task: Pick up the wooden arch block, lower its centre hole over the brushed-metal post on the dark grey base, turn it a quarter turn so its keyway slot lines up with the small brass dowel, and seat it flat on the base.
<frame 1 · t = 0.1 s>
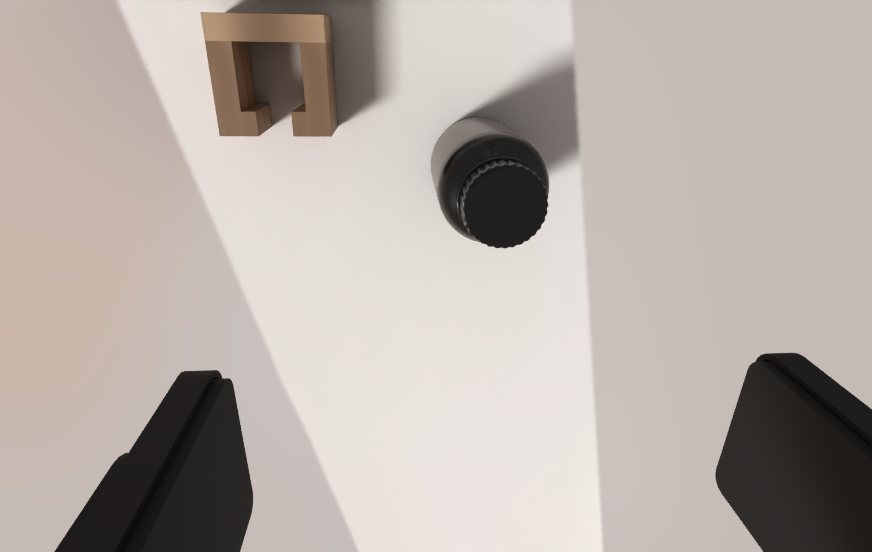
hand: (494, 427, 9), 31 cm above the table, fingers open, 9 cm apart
wooden arch block: (282, 73, 35), on the table
supplement bottle: (474, 160, 39), on the table
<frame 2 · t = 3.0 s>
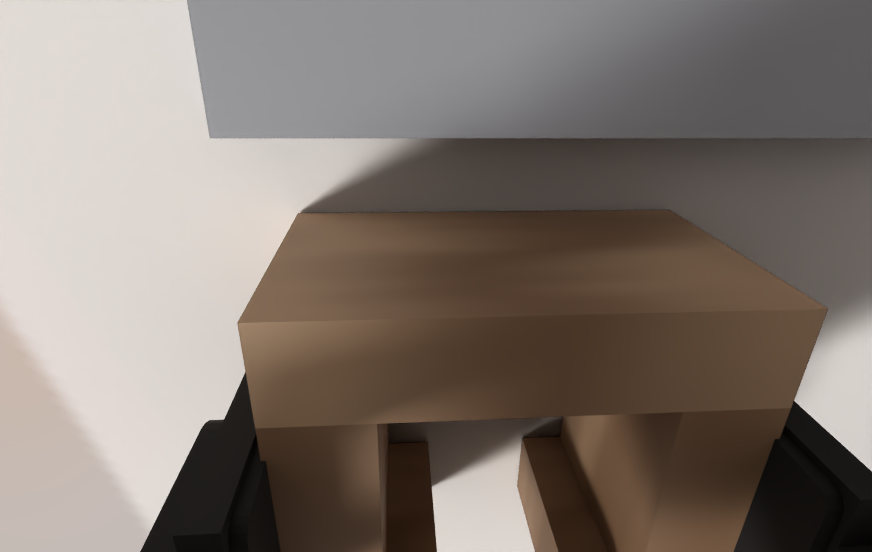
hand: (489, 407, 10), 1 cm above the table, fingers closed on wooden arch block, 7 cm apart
wooden arch block: (479, 367, 11), on the table, touching gripper
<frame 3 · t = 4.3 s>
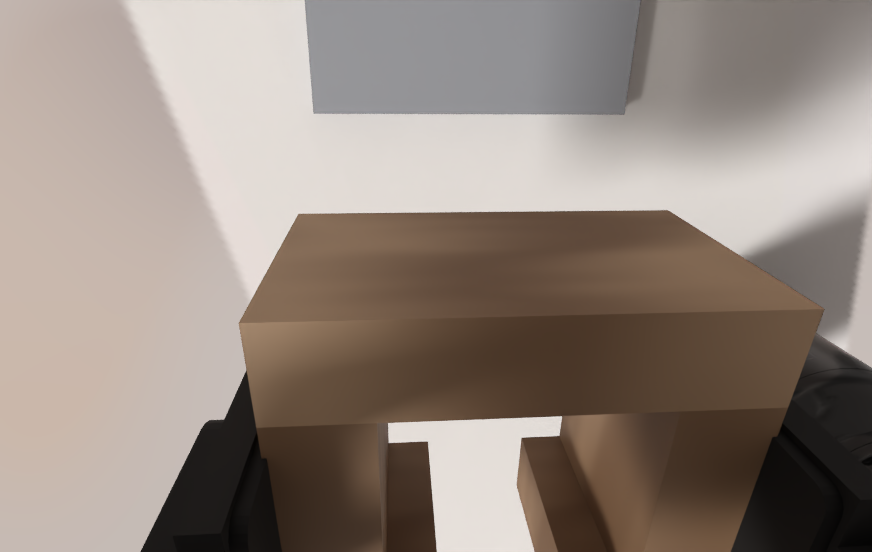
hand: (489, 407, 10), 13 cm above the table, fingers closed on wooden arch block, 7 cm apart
wooden arch block: (479, 367, 11), point 12 cm above the table, touching gripper
supplement bottle: (696, 339, 26), on the table
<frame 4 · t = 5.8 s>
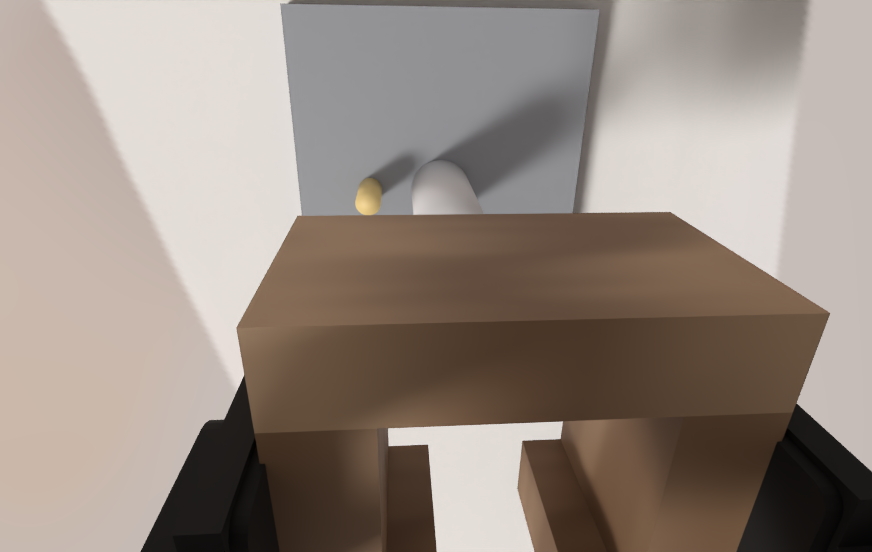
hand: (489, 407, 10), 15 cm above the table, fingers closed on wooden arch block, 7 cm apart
post base: (438, 182, 23), on the table
wooden arch block: (479, 370, 11), point 14 cm above the table, touching gripper
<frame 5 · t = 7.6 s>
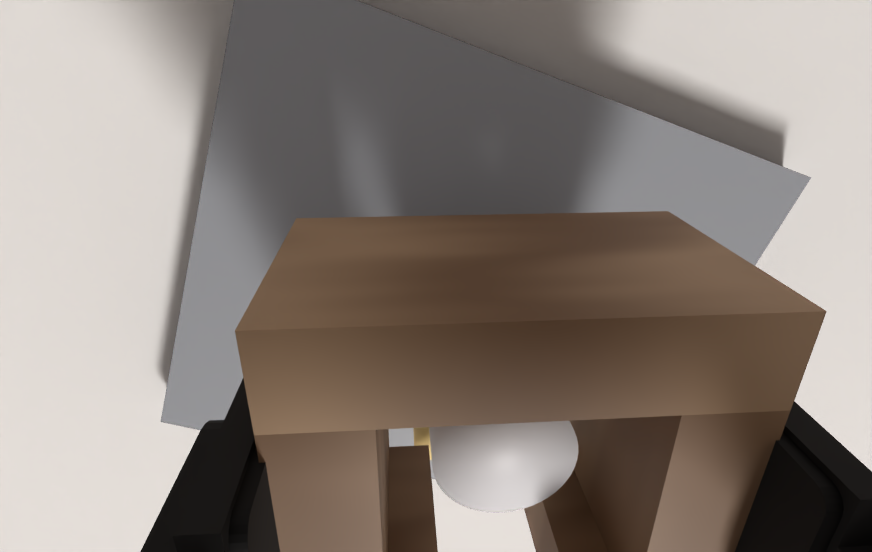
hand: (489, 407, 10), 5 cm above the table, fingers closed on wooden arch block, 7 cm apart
post base: (461, 290, 15), on the table
wooden arch block: (479, 370, 11), point 4 cm above the table, touching gripper
when the fingers open (3 cm above the table, at t = 9.0 s): wooden arch block stays where it is, resting on post base.
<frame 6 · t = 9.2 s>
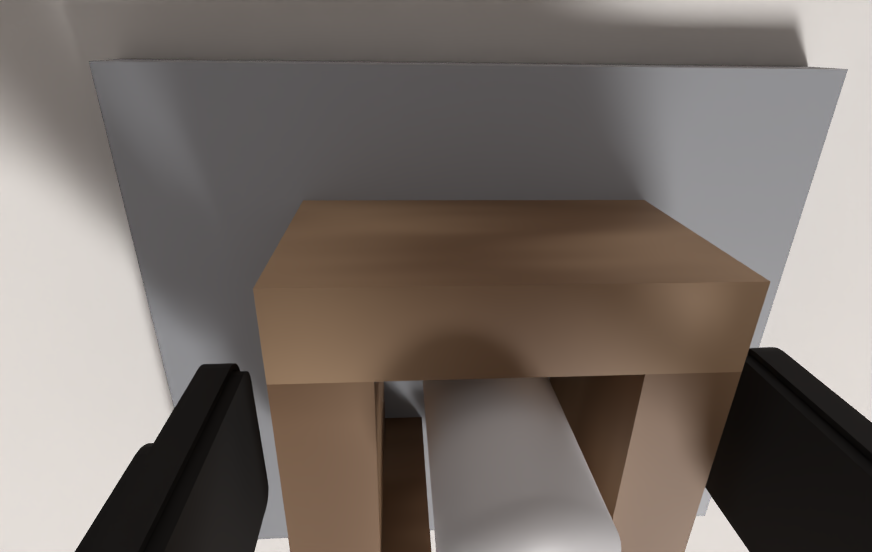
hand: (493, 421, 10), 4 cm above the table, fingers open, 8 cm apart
post base: (468, 323, 13), on the table
wooden arch block: (469, 346, 12), point 1 cm above the table, touching post base
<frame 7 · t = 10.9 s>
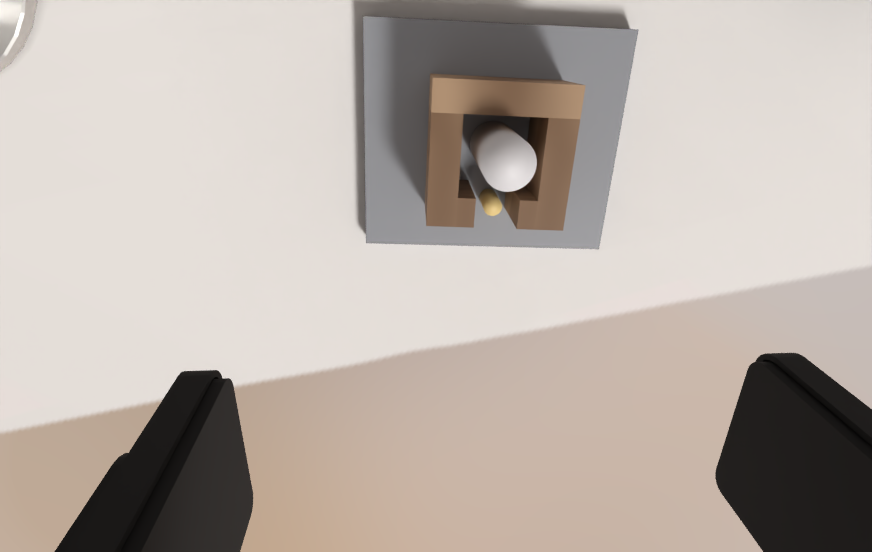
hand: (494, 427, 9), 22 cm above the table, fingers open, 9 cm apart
post base: (490, 141, 29), on the table
wooden arch block: (490, 144, 28), point 1 cm above the table, touching post base
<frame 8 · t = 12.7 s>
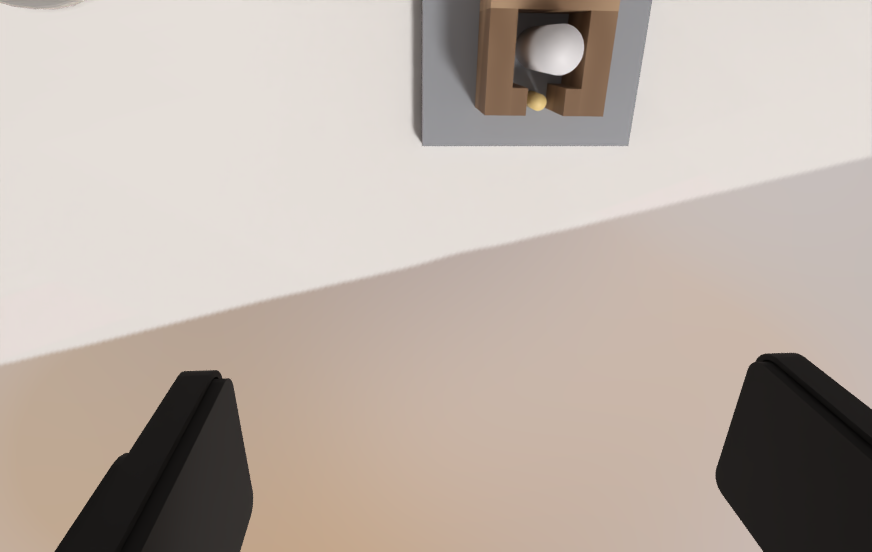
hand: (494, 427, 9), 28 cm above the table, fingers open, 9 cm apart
post base: (531, 47, 33), on the table
wooden arch block: (533, 48, 32), point 1 cm above the table, touching post base
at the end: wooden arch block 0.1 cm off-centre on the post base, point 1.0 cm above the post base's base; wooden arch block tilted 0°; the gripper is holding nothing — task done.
